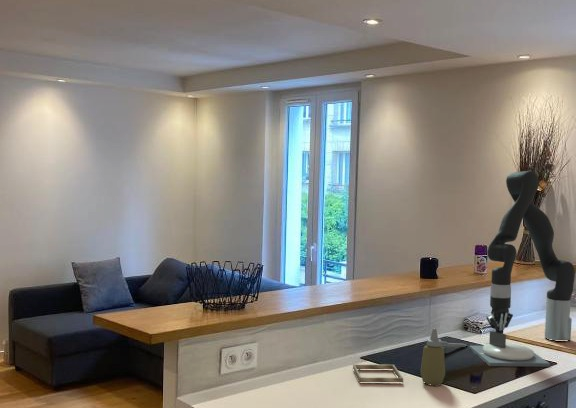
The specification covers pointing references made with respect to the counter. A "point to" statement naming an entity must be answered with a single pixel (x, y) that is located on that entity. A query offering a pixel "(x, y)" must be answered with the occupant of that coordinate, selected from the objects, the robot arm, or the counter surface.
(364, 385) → the counter surface
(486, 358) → the dial plate
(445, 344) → the caliper
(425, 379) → the squeeze bottle
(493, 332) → the dial
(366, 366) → the bread board rim
